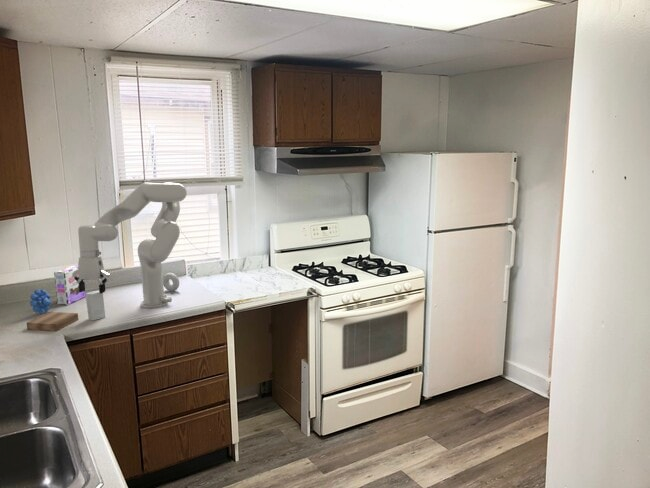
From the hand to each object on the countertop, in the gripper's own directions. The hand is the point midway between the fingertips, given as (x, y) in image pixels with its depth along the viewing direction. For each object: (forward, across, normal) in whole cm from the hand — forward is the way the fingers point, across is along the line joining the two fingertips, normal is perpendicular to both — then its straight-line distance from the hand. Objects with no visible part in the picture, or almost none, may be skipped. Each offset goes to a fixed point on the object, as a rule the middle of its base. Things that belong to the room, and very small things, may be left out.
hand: (92, 292), depth 229 cm
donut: (+11, -15, -45) cm, 49 cm away
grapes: (+13, +27, -3) cm, 30 cm away
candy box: (+12, +27, -23) cm, 38 cm away
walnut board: (+13, +13, +9) cm, 21 cm away
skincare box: (+12, -1, -1) cm, 13 cm away
